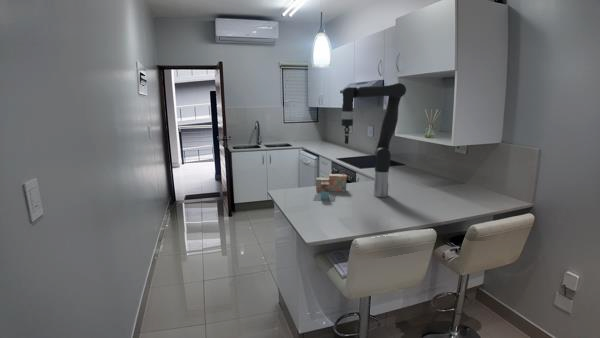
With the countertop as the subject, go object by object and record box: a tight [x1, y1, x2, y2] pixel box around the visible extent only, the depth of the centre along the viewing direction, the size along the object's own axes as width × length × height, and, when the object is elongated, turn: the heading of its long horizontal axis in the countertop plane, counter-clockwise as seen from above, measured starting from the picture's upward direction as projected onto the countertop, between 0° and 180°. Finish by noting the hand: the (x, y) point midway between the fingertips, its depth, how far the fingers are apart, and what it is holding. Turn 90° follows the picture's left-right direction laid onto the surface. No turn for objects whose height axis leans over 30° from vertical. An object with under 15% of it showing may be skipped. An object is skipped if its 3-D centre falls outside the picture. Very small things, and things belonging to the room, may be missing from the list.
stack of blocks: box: [315, 173, 347, 193], centre depth 234 cm, size 21×6×12 cm, turn 82°
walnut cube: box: [320, 182, 330, 193], centre depth 214 cm, size 5×5×5 cm
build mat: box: [312, 194, 337, 203], centre depth 216 cm, size 14×14×1 cm
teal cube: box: [320, 191, 330, 199], centre depth 215 cm, size 5×5×5 cm
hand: (346, 142), depth 219 cm, fingers open, 8 cm apart
